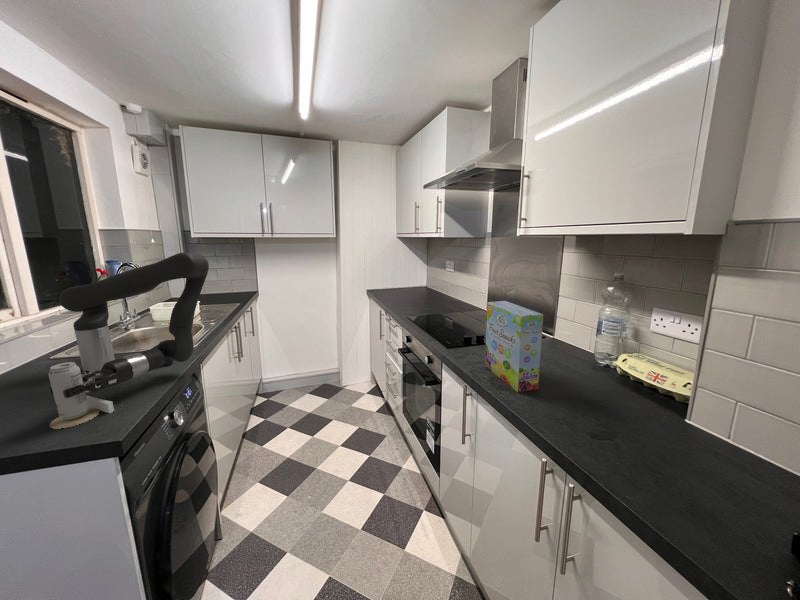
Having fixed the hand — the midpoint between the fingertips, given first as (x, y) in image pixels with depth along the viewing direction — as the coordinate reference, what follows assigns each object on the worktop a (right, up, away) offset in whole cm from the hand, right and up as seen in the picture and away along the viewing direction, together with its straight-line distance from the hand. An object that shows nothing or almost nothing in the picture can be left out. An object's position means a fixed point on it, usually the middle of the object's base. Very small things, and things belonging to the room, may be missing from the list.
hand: (57, 392), depth 87 cm
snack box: (+132, -3, +26) cm, 134 cm away
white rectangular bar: (-1, -7, +11) cm, 13 cm away
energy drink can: (+1, -8, +4) cm, 9 cm away
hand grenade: (0, -1, +42) cm, 42 cm away
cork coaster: (+1, -9, +4) cm, 9 cm away
